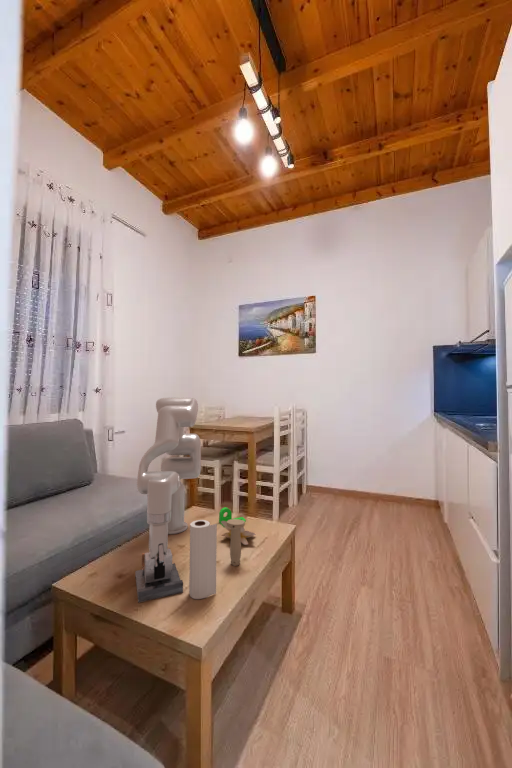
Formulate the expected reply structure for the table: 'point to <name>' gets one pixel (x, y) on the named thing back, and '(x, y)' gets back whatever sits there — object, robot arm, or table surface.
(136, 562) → the table surface
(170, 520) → the robot arm
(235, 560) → the handle
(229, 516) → the mechanical part
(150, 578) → the block
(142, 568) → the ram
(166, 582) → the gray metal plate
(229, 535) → the decorative flower
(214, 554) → the paper towel roll
